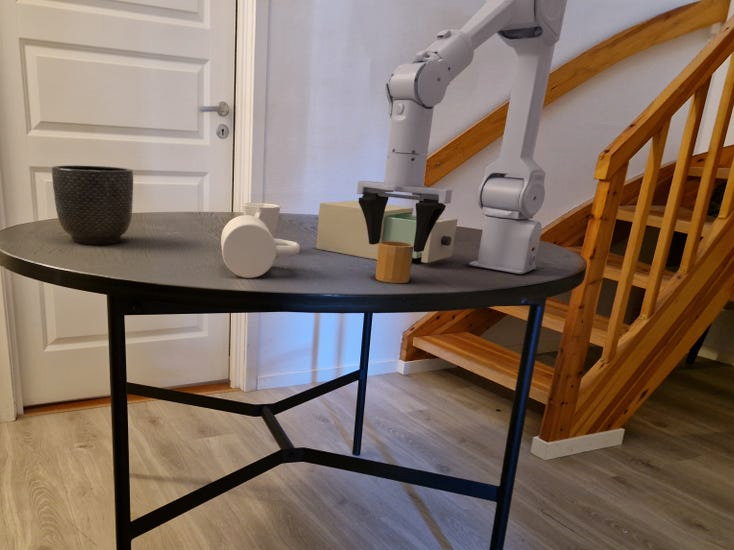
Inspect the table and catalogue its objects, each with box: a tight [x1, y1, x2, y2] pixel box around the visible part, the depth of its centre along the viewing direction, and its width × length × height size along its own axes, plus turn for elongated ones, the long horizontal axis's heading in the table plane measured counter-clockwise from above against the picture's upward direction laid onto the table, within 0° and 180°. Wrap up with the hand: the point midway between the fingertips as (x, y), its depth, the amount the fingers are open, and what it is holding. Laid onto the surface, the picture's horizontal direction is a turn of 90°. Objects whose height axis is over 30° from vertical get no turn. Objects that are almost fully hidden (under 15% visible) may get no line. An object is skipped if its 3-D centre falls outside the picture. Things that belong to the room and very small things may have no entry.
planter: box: [51, 165, 134, 246], centre depth 111 cm, size 14×14×13 cm
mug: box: [220, 214, 301, 279], centre depth 94 cm, size 12×10×8 cm
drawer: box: [382, 213, 458, 264], centre depth 111 cm, size 14×10×7 cm
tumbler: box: [374, 241, 414, 284], centre depth 95 cm, size 5×5×6 cm
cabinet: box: [316, 199, 414, 261], centre depth 117 cm, size 14×12×9 cm
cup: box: [241, 202, 281, 238], centre depth 112 cm, size 7×10×8 cm
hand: (395, 247), depth 94 cm, fingers open, 7 cm apart
